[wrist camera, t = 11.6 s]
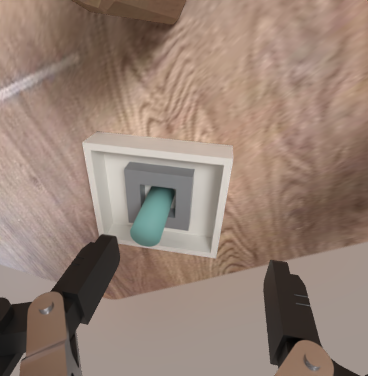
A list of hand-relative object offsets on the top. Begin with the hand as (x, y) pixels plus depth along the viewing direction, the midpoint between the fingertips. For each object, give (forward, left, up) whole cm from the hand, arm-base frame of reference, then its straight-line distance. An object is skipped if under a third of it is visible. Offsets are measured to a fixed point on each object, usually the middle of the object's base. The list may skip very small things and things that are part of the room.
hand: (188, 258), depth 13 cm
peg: (+7, +12, -24) cm, 27 cm away
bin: (+7, +12, -24) cm, 28 cm away
